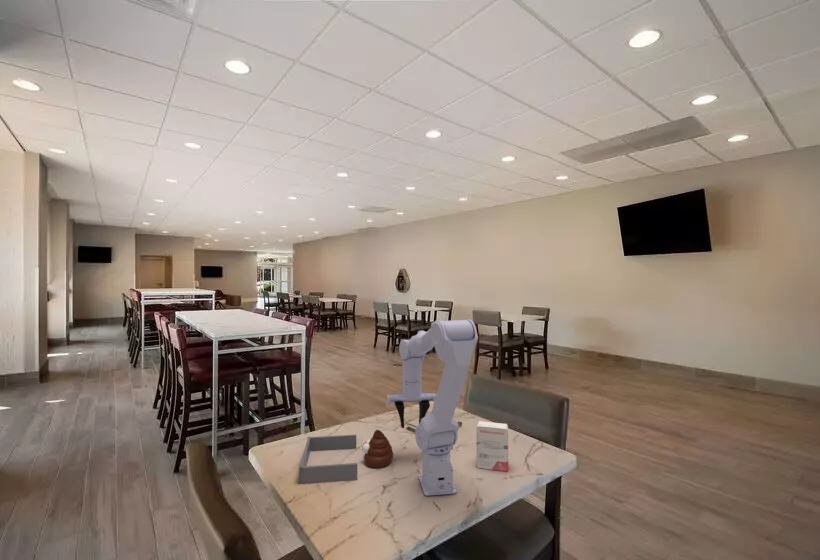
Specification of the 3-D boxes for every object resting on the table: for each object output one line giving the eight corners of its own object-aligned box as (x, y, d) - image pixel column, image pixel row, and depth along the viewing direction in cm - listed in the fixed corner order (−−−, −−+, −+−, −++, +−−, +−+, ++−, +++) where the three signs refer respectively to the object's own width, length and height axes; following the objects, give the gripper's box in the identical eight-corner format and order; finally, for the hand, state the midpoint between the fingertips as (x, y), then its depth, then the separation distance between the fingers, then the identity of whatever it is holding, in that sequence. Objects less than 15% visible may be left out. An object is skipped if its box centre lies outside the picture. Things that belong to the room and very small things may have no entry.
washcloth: (404, 430, 134) (404, 421, 134) (439, 418, 146) (439, 410, 146) (427, 440, 125) (427, 431, 125) (462, 427, 137) (462, 419, 137)
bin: (357, 479, 99) (357, 464, 99) (299, 483, 96) (299, 468, 97) (356, 447, 119) (356, 434, 119) (307, 450, 116) (307, 437, 116)
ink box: (508, 464, 108) (508, 423, 108) (508, 472, 103) (508, 429, 103) (477, 460, 110) (478, 419, 110) (476, 468, 106) (476, 425, 106)
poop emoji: (388, 470, 104) (388, 436, 104) (358, 467, 105) (359, 434, 106) (396, 454, 114) (396, 423, 114) (368, 452, 115) (369, 421, 115)
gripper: (433, 376, 117) (432, 420, 116) (386, 377, 114) (385, 422, 114) (438, 382, 110) (438, 428, 109) (388, 383, 107) (388, 431, 107)
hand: (411, 426), depth 111 cm, fingers open, 5 cm apart
